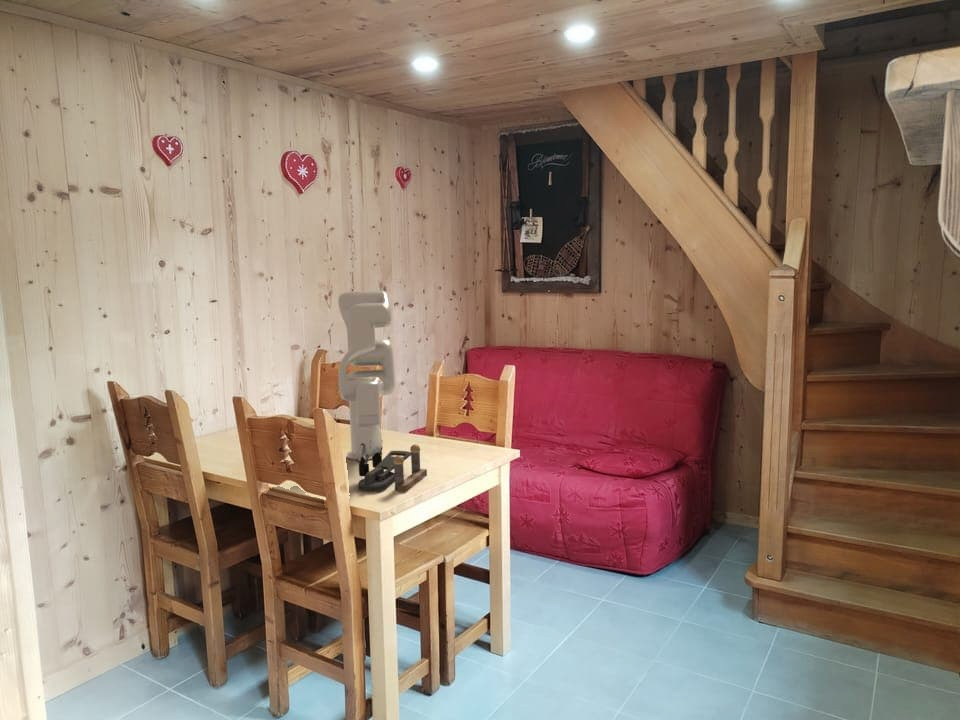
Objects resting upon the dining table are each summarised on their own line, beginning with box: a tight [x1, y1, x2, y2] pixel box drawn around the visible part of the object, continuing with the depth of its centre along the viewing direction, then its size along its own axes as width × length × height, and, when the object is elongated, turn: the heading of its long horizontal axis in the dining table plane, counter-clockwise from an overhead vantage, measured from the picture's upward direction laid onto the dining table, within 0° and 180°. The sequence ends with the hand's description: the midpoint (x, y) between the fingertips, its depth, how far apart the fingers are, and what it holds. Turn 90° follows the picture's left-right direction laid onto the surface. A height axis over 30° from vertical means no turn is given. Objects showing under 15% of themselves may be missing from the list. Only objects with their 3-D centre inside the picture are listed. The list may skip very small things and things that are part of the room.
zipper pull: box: [357, 450, 411, 493], centre depth 214 cm, size 9×7×25 cm
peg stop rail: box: [393, 444, 428, 493], centre depth 210 cm, size 18×5×11 cm, turn 164°
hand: (370, 471), depth 214 cm, fingers open, 9 cm apart
